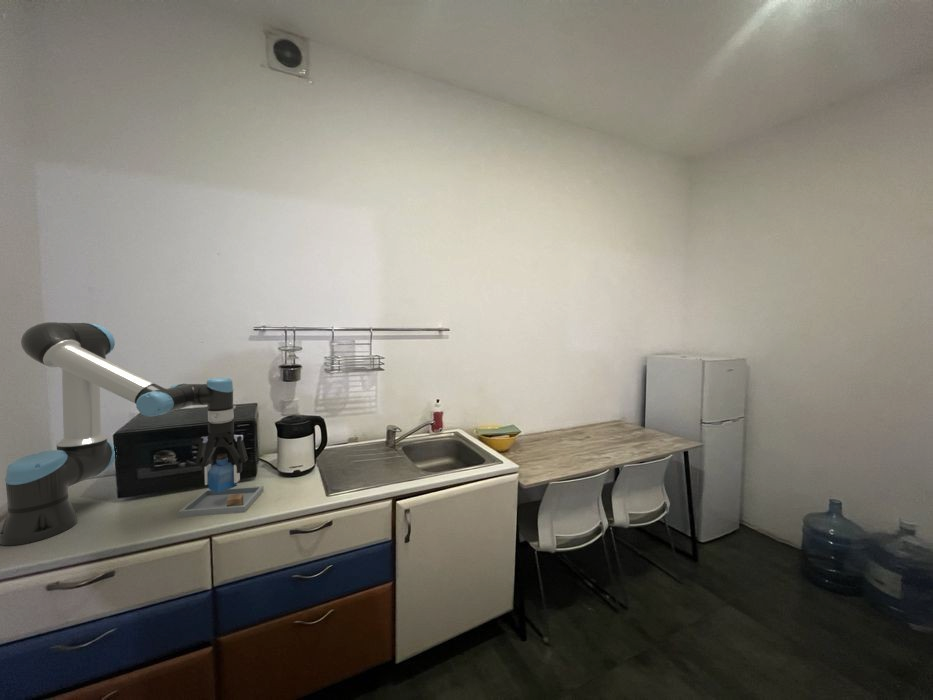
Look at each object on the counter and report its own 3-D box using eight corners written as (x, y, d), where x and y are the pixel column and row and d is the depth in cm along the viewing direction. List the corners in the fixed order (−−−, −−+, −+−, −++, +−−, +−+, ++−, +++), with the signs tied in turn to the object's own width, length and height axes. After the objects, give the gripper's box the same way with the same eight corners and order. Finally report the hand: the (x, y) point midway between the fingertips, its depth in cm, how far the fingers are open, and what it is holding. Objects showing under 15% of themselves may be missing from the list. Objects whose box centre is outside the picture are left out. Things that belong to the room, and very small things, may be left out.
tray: (178, 518, 113) (178, 511, 113) (205, 496, 129) (205, 489, 129) (244, 513, 117) (244, 506, 117) (263, 492, 133) (263, 485, 133)
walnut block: (226, 511, 117) (226, 500, 117) (230, 506, 121) (230, 495, 120) (240, 509, 118) (240, 498, 118) (243, 504, 122) (243, 493, 122)
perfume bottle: (227, 482, 128) (226, 450, 127) (236, 485, 125) (235, 453, 124) (208, 488, 122) (207, 456, 122) (217, 492, 119) (217, 459, 119)
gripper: (180, 424, 117) (182, 489, 118) (249, 422, 121) (250, 484, 122) (193, 419, 124) (195, 480, 125) (258, 417, 128) (259, 476, 129)
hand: (222, 482), depth 123 cm, fingers closed on perfume bottle, 9 cm apart
